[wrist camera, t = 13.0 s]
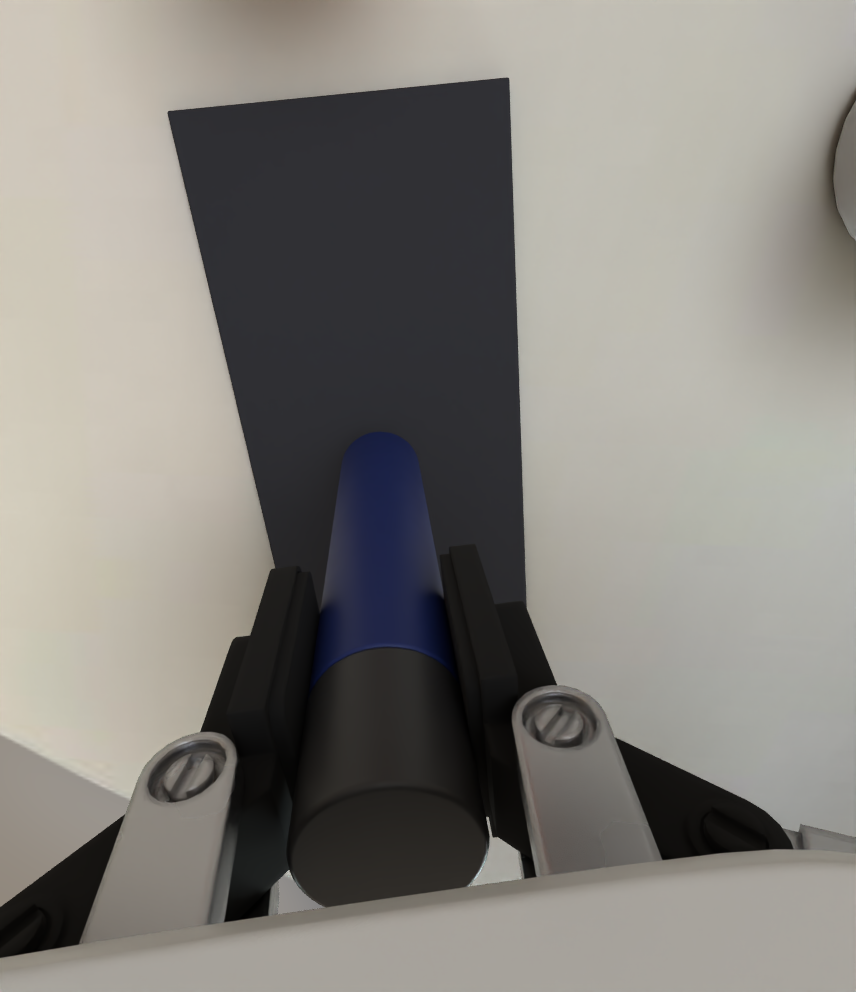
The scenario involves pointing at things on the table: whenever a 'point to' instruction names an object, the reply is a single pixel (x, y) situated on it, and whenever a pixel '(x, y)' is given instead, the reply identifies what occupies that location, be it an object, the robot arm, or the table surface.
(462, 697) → the robot arm
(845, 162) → the cup
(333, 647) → the marker
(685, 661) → the table surface
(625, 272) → the table surface
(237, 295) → the desk mat
